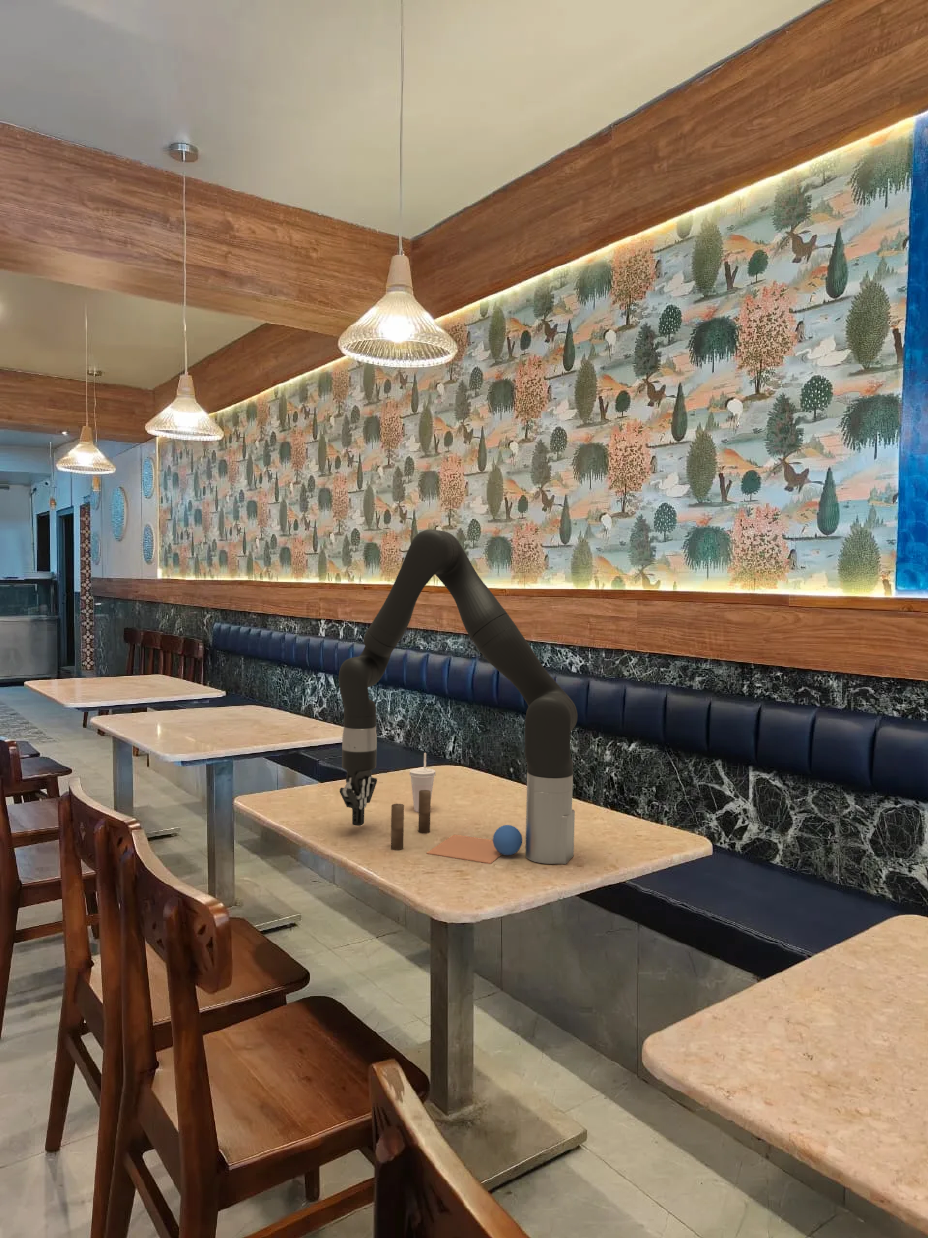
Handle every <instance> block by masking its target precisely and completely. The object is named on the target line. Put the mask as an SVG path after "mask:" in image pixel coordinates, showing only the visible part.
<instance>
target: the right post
mask: <svg viewBox="0 0 928 1238" xmlns="http://www.w3.org/2000/svg"><path fill="white" fill-rule="evenodd" d="M431 802H432V796H431V791H429V790H420V791H419V812H418V820H417V821H418V824H417V825H418V830H417V831H418V833H420V834H429V833H430V832H431Z"/></svg>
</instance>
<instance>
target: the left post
mask: <svg viewBox="0 0 928 1238" xmlns="http://www.w3.org/2000/svg"><path fill="white" fill-rule="evenodd" d="M390 807H391V809H390V813H391V815H390V817H391V818H390V820H391V821H390V849H391V850H392V851H401V850H404V826H405V823H404V822H405V821H404V820H405V804H402V803H392V804H391V806H390Z"/></svg>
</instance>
